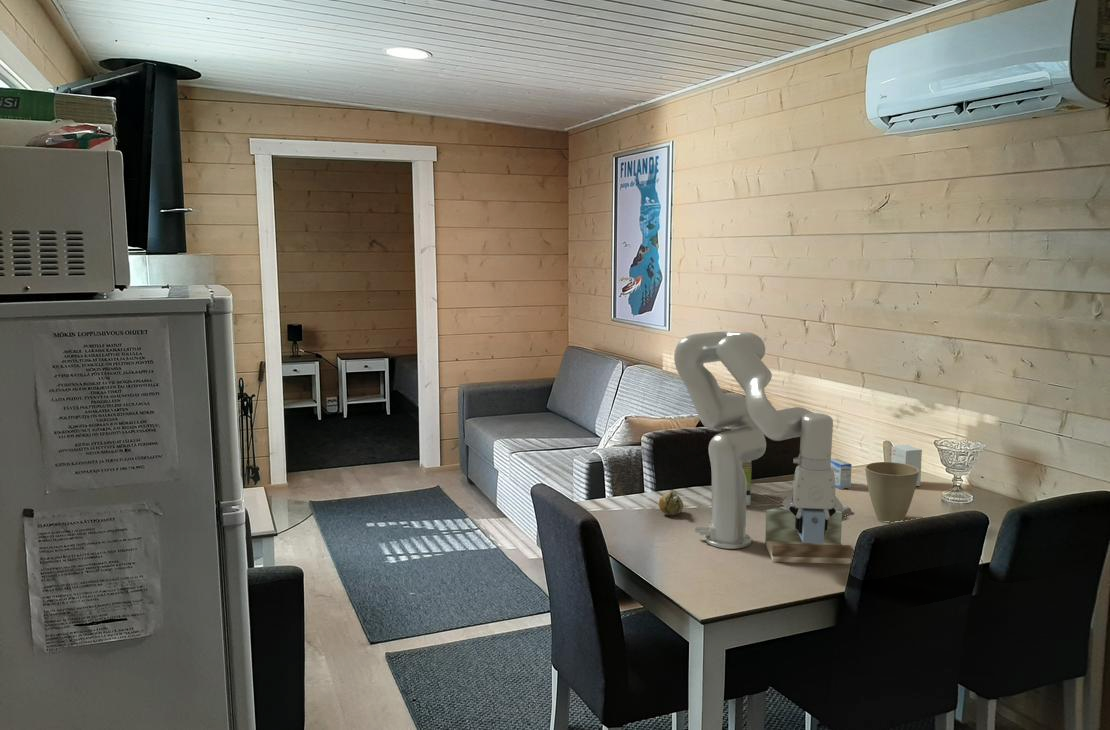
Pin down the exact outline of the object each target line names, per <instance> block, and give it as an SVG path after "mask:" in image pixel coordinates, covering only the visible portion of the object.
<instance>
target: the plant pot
mask: <svg viewBox="0 0 1110 730" xmlns="http://www.w3.org/2000/svg"><path fill="white" fill-rule="evenodd" d="M864 468H865V479H866V484H867V489H868V494H869V499H870V502H871V505H872V508H873V511H874V514H875V516H876V517H875V518H876V519H877V518H878V519H879V520H878V519H877V520H878V521H880V520H882V521H890V522H895V521H901V520H903V521H904V520H905V518H906V516H907V514H908V512H909V509H910V506H911V503H912V501H913V498H914V494H915V492H916V491H915V490H916V488H917V487H916V483H917V478H918V473H919V469H918V468H916V467H914V466H911V465H908V464H903V463H895V462H891V461H879V462H878V461H876V462H871V463H868V464H866V465H865V466H864ZM882 521H881V522H882ZM890 522H889V523H888V522H887V524H891V523H890Z"/></svg>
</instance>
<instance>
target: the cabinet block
mask: <svg viewBox="0 0 1110 730" xmlns="http://www.w3.org/2000/svg"><path fill="white" fill-rule="evenodd" d="M802 519H803V522H802V533H801V534H799V532H798V534H799V536H800V538H801V540H802V542H803V543H820V544H824V528H825V512H824V510H823V509H803V513H802Z"/></svg>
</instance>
